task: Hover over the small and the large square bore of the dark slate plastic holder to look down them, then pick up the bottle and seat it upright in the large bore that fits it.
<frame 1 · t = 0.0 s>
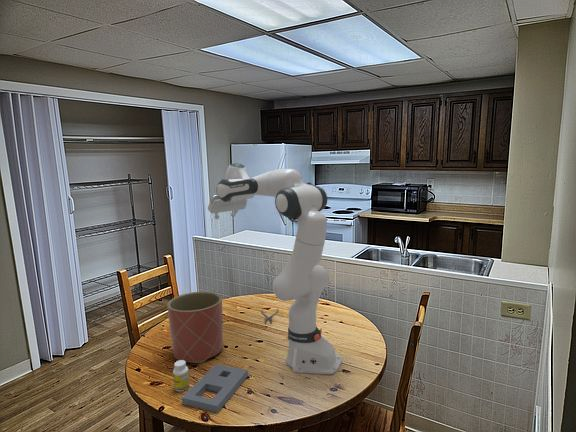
hand: (224, 217, 184), 54 cm above the table, tool tilted 30°, fingers open, 8 cm apart
planter: (198, 352, 160), on the table
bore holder: (216, 389, 133), on the table
supplement bottle: (182, 388, 134), on the table
pliers: (271, 316, 195), on the table
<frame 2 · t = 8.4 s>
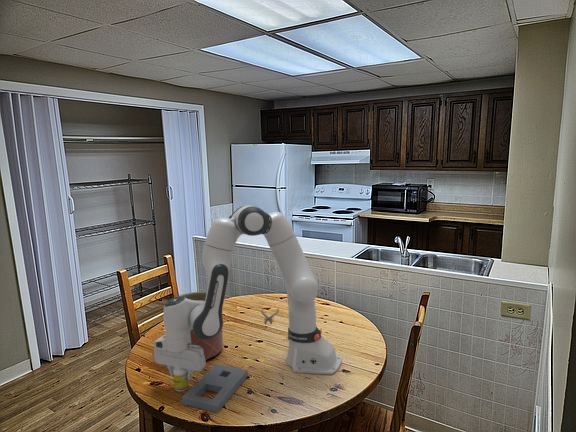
hand: (181, 377, 134), 4 cm above the table, tool pointing down, fingers closed on supplement bottle, 5 cm apart
supplement bottle: (182, 387, 134), on the table, touching gripper
everything else where it was.
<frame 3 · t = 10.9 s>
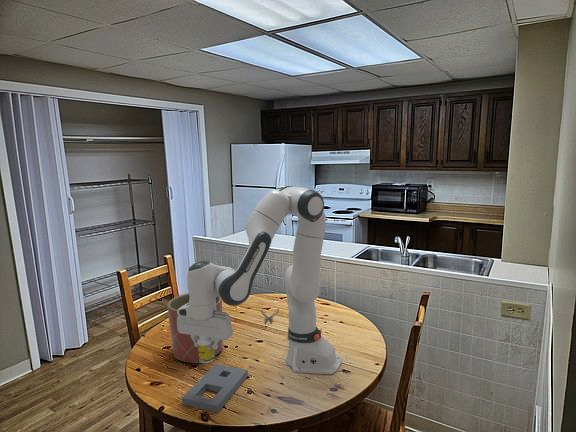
hand: (206, 347, 126), 19 cm above the table, tool pointing down, fingers closed on supplement bottle, 5 cm apart
supplement bottle: (207, 359, 126), point 14 cm above the table, touching gripper
everything else where it was.
when the fingers open (6 cm above the table, at t = 13.9 s): supplement bottle drops 1 cm, resting in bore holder.
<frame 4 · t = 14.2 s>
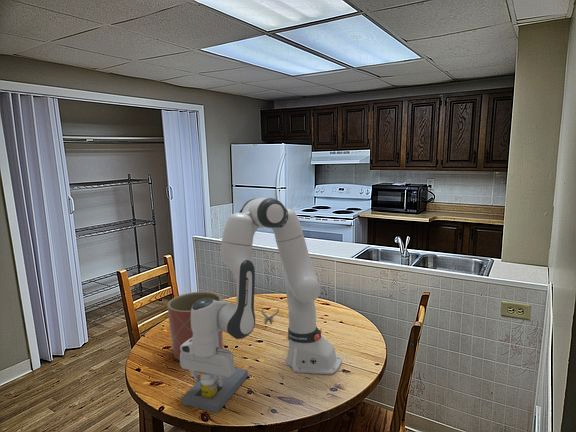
hand: (208, 383, 127), 6 cm above the table, tool pointing down, fingers open, 8 cm apart
supplement bottle: (209, 398, 128), resting in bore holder
everything else where it was.
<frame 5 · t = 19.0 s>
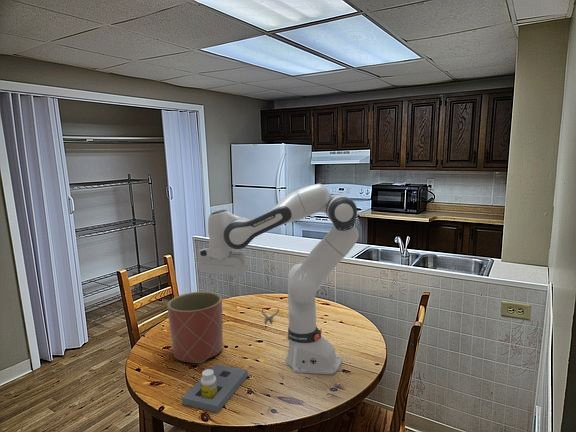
hand: (222, 284, 147), 33 cm above the table, tool pointing down, fingers open, 8 cm apart
nothing on the table moved.
at the end: supplement bottle 0.1 cm from the target spot on the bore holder, point 0.0 cm above the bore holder's base; supplement bottle tilted 0°; the gripper is holding nothing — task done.
